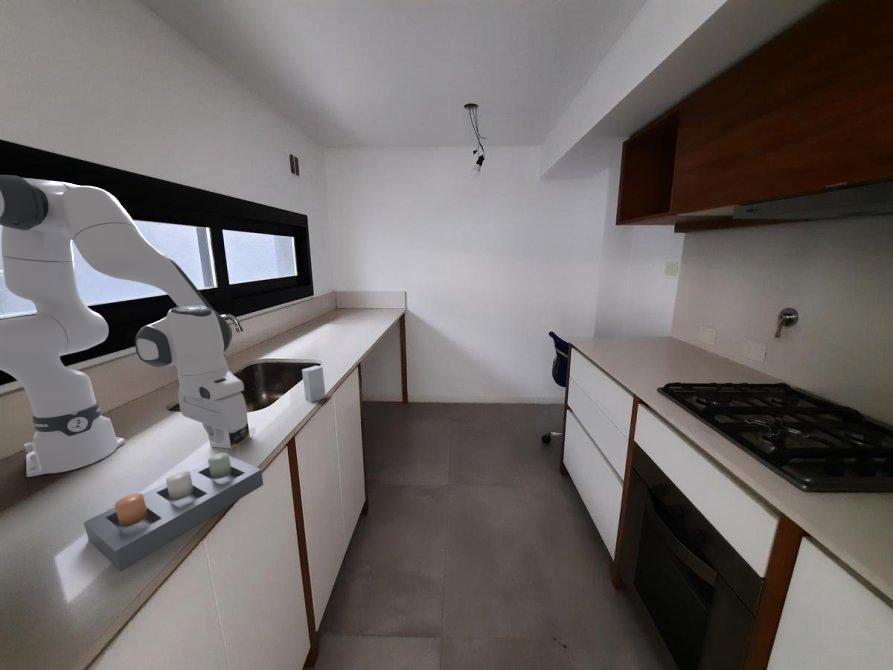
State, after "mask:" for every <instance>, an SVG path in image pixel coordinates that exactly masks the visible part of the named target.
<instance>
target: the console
mask: <svg viewBox="0 0 893 670" xmlns="http://www.w3.org/2000/svg"><path fill="white" fill-rule="evenodd" d="M229 458H230V463H231V469H232V471H231V473H230V474H229V475H227V476H225V477H223V478H219V479H213V478H211V474H210V469H209V463H208V462H206V463H205V464H203V465H200V466H199V467H197V468H194V469H192V470H189V472H190V475H191V480H192V485H193V490H194V491H193V493H192V494H191V495H189V496H188V497H186V498H183V499H180V500H170V497H169V493H168V488H167V484H166V482H165V483H163V484H159V485H158V486H157V487H154V488H152V489H149V490H148V491H145V492H144V493H142V494H143V496H144V500H145V504H146V508H147V512H148V515H147V517H146V518H145V519H143V520H142V521H140V522H139V523H137V524H134V525H131V526H127V527H122V526H120V524H119V520H118V516H117V512H116V508H115V506H114V507H113V508H110V509H108V510H107V511H104V512H102V513H100V514H98V515H95V516H93V517H91V518H90V519H87V520H85V521H84V522H83V525H84V530H85V532H86V536H87V539H88V542H89V543H91V544H92V545H93V546H94V547H95V548H96V549H97V550H98V551H99V552H100V553H101V554H102V555H103V556H104V557H105V558H106V559H108V561H109V562H110V563H111V564H113V565H114V566H115V568H117V569H118V570H119V571H120V572H121V571H123V570H125V569H127V568H129V567H130V566H132V565H133V564H135V563H137V562H138V561H140V560H142V559H143V558H145V557H147V556H149V555H150V554H151V553H153V552H155V551H156V550H158V549H160V548H162V547H163V546H165V545H167V544H168V543H169V542H171V541H173V540H174V539H176V538H178V537H180V536H181V535H183V534H185V533H186V532H188V531H189V530H191V529H192V528H194V527H196V526H198V525H200V524H201V523H203V522H204V521H206V520H208V519H209V518H211V517H212V516H214V515H216V514H218V513H219V512H221V511H222V510H224V509H226V508H228V507H230V506H231V505H233V504H234V503H236V502H237V501H239V500H241V499H242V498H244V497H246V496H247V495H250V494H251V493H252V492H254V491H256V490H258V489H259V488H261V487H262V486H263V485H264V481H263V474H262V473H263V472H262V469H261V468H258V467H256V466H254V465H252V464H250V463H247V462H245V461H243V460H241V459H238V458H236V457H234V456H233V455H229Z"/></svg>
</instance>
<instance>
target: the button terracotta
mask: <svg viewBox="0 0 893 670" xmlns="http://www.w3.org/2000/svg"><path fill="white" fill-rule="evenodd" d="M143 494H144V493H140V492H136V493H132V494H128V495H127V496H124V497H122V498H120V499H119V500H117V501H116V502H115V504H114V507H115V508H116V512H117V516H118V520H119V524H120V526H122V527H127V526H131V525H134V524H137V523H139V522H140V521H142V520H143V519H145V518H146V517H147V515H148V512H147V508H146V504H145V500H144V496H143Z"/></svg>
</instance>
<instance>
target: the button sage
mask: <svg viewBox="0 0 893 670" xmlns="http://www.w3.org/2000/svg"><path fill="white" fill-rule="evenodd" d="M229 456H230V454H229V453H228V452H219V453H216V454H213V455H212V456H210V457H209V458H208V459H207V463H209V469H210V474H211V478H213V479H219V478H223V477H225V476H227V475H229V474H230V473H231V471H232V469H231V463H230V458H229Z"/></svg>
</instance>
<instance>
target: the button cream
mask: <svg viewBox="0 0 893 670" xmlns="http://www.w3.org/2000/svg"><path fill="white" fill-rule="evenodd" d="M165 483H166V484H167V488H168V493H169V497H170V500H180V499H183V498H186V497H188V496H189V495H191V494H192V493H193V491H194V490H193V485H192V480H191V475H190V470H189V471H188V470H182V471H181V470H180V471H178V472H175V473H172V474H170V475H169V476H168V477H167V478H166V479H165Z"/></svg>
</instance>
